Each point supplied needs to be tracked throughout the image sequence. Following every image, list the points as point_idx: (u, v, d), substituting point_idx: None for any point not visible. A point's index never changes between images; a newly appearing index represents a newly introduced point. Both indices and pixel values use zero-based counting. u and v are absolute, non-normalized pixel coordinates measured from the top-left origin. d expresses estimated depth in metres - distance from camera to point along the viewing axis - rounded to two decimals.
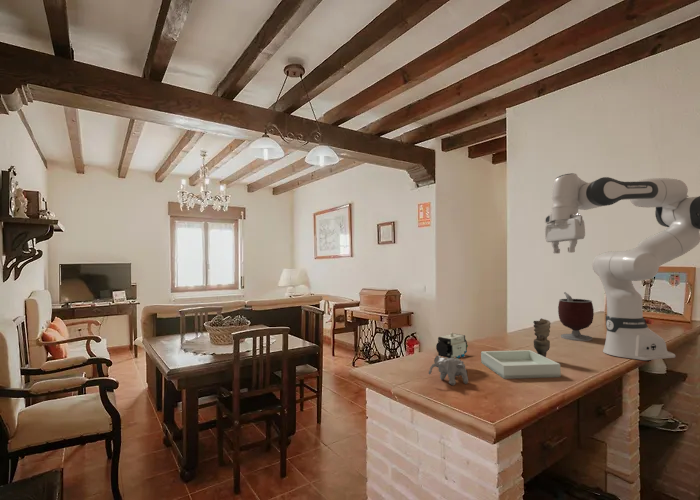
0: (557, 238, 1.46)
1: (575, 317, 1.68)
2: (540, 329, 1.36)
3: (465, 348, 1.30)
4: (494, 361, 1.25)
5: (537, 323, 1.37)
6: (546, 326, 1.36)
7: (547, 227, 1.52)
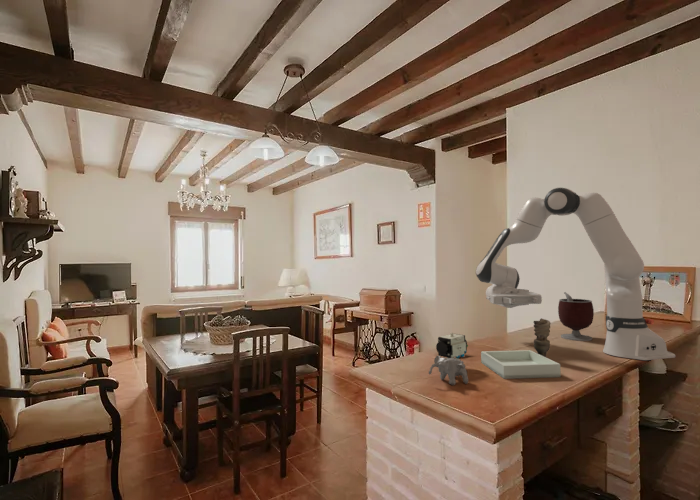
0: (520, 303, 1.56)
1: (575, 317, 1.68)
2: (540, 329, 1.36)
3: (465, 348, 1.30)
4: (494, 361, 1.25)
5: (537, 323, 1.37)
6: (546, 326, 1.36)
7: None
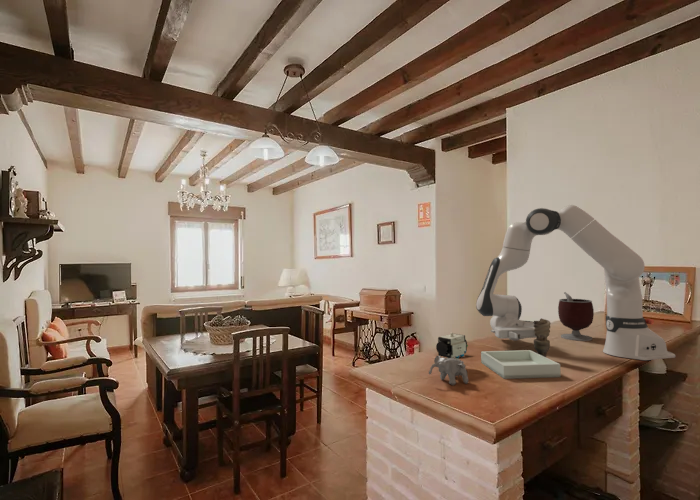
0: (526, 337, 1.52)
1: (575, 317, 1.68)
2: (540, 329, 1.36)
3: (465, 348, 1.30)
4: (494, 361, 1.25)
5: (537, 323, 1.37)
6: (546, 326, 1.36)
7: None
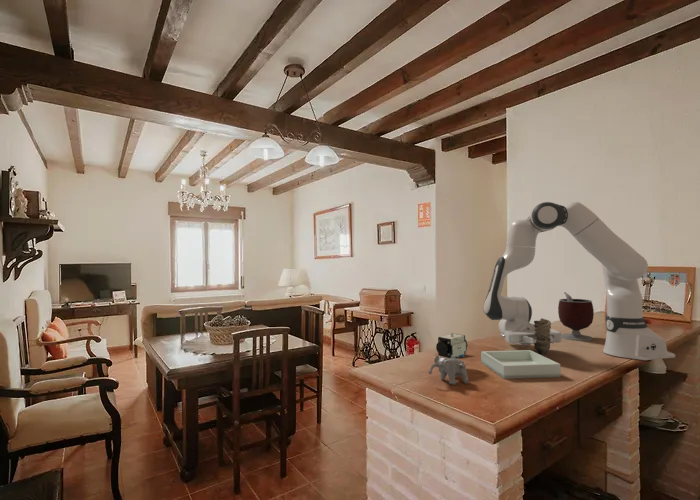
0: None
1: (575, 317, 1.68)
2: (541, 329, 1.36)
3: (465, 348, 1.30)
4: (494, 361, 1.25)
5: (538, 323, 1.37)
6: (546, 326, 1.36)
7: None
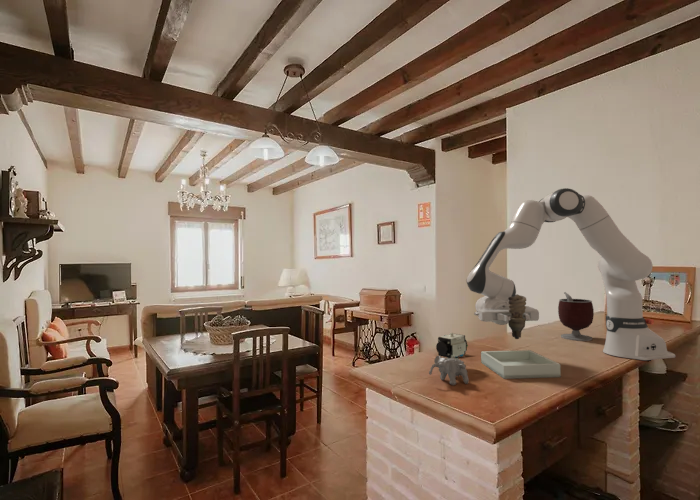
0: None
1: (575, 317, 1.68)
2: (515, 305, 1.26)
3: (465, 348, 1.30)
4: (494, 361, 1.25)
5: (512, 299, 1.27)
6: (521, 302, 1.26)
7: None
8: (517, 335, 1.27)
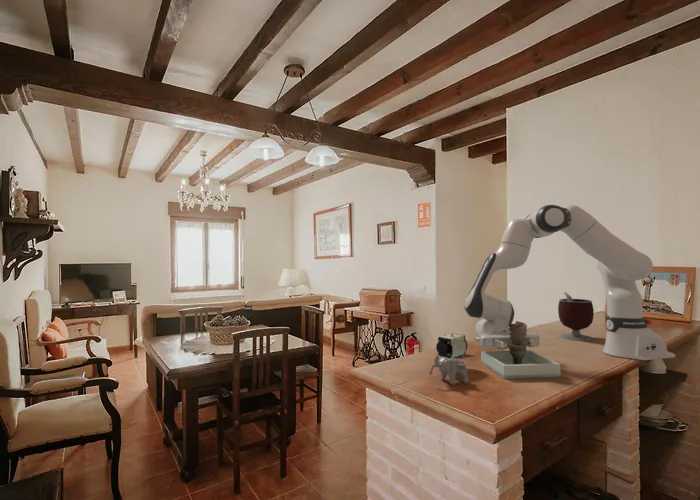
0: None
1: (575, 317, 1.68)
2: (515, 333, 1.26)
3: (465, 348, 1.30)
4: (494, 361, 1.25)
5: (512, 326, 1.27)
6: (522, 329, 1.25)
7: None
8: (518, 362, 1.27)
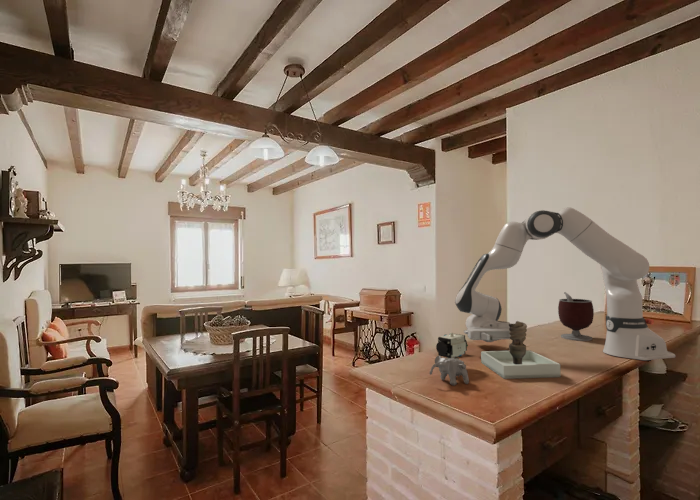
0: (500, 339, 1.44)
1: (575, 317, 1.68)
2: (515, 333, 1.26)
3: (465, 348, 1.30)
4: (494, 361, 1.25)
5: (512, 326, 1.27)
6: (522, 329, 1.25)
7: None
8: (518, 362, 1.27)
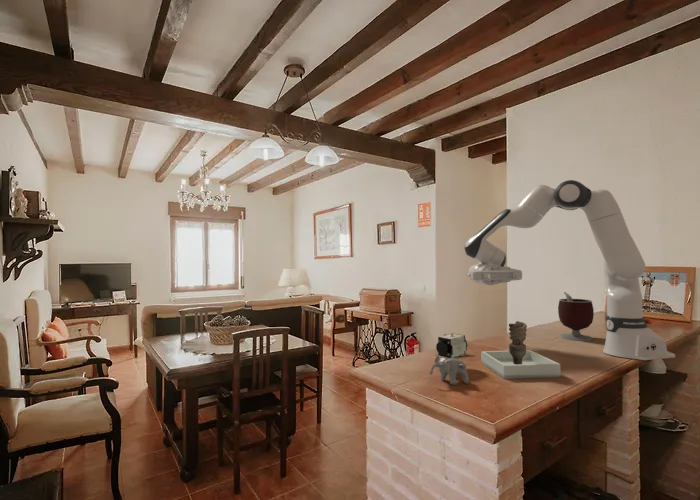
0: (500, 279, 1.54)
1: (575, 317, 1.68)
2: (515, 333, 1.26)
3: (465, 348, 1.30)
4: (494, 361, 1.25)
5: (512, 326, 1.27)
6: (522, 329, 1.25)
7: (511, 280, 1.59)
8: (518, 362, 1.27)
